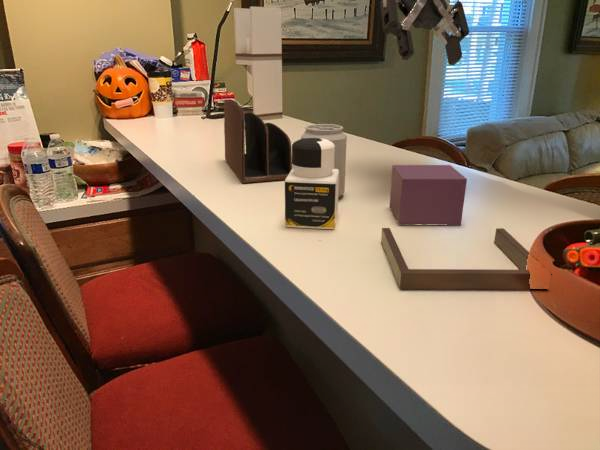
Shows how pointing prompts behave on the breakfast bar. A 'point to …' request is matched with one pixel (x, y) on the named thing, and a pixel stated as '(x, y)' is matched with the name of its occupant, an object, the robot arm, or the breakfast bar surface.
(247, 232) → the breakfast bar surface
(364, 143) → the breakfast bar surface
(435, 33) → the robot arm
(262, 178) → the letter holder
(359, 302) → the breakfast bar surface
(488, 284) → the bay
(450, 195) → the block
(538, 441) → the breakfast bar surface
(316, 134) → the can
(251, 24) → the white stepped pillar
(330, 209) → the medicine bottle
